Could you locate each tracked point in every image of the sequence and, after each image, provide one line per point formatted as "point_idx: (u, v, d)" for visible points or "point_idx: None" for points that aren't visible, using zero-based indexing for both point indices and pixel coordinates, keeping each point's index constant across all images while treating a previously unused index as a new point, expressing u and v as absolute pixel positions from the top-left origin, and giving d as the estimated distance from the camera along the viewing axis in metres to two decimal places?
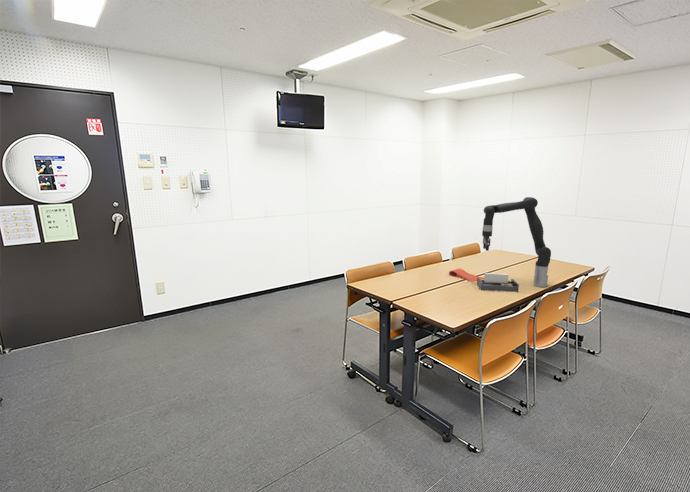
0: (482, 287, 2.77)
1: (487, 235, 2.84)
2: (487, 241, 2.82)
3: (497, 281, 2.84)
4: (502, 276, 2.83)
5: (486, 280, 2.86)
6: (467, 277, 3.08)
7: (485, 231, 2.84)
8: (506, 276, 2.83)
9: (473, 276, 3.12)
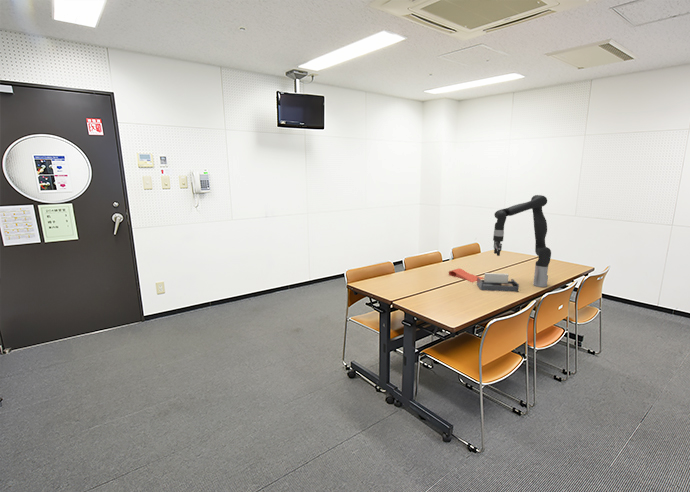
0: (482, 287, 2.77)
1: (498, 240, 2.80)
2: (498, 246, 2.78)
3: (497, 281, 2.84)
4: (502, 276, 2.83)
5: (486, 280, 2.86)
6: (467, 277, 3.08)
7: (496, 236, 2.80)
8: (506, 276, 2.83)
9: (473, 276, 3.12)
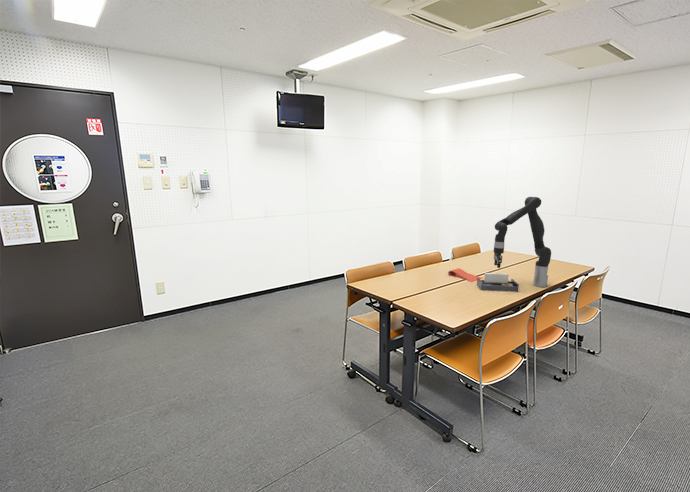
0: (482, 287, 2.77)
1: (499, 252, 2.78)
2: (499, 258, 2.75)
3: (497, 281, 2.84)
4: (502, 276, 2.83)
5: (486, 280, 2.86)
6: (466, 277, 3.08)
7: (497, 248, 2.78)
8: (506, 276, 2.83)
9: (473, 276, 3.13)
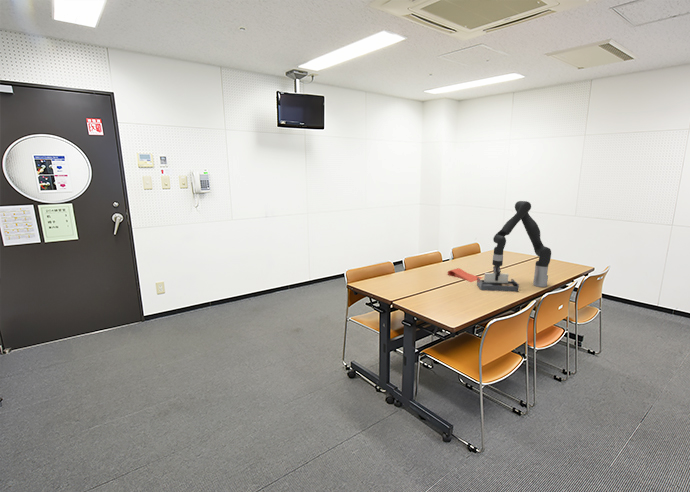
0: (482, 287, 2.77)
1: (498, 265, 2.80)
2: (497, 273, 2.79)
3: (497, 281, 2.84)
4: (502, 276, 2.83)
5: (486, 280, 2.86)
6: (466, 277, 3.08)
7: (495, 260, 2.80)
8: (506, 276, 2.83)
9: (472, 276, 3.13)
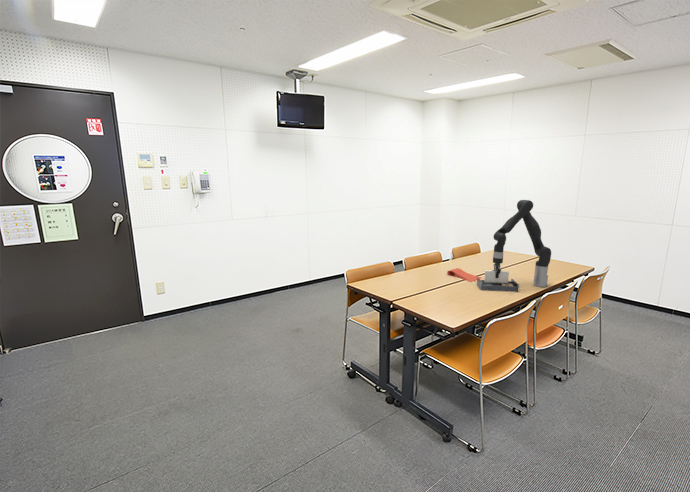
0: (482, 287, 2.77)
1: (498, 262, 2.79)
2: (497, 270, 2.78)
3: (498, 279, 2.84)
4: (502, 274, 2.83)
5: (486, 277, 2.85)
6: (465, 277, 3.09)
7: (496, 258, 2.79)
8: (506, 273, 2.82)
9: (472, 275, 3.13)
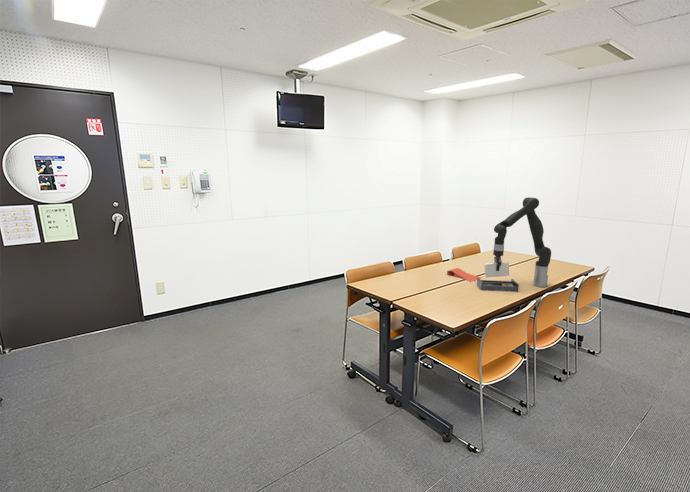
0: (482, 287, 2.77)
1: (498, 255, 2.78)
2: (498, 263, 2.77)
3: (498, 271, 2.83)
4: (502, 265, 2.81)
5: (487, 271, 2.84)
6: (465, 277, 3.09)
7: (496, 250, 2.78)
8: (506, 264, 2.81)
9: (471, 275, 3.14)
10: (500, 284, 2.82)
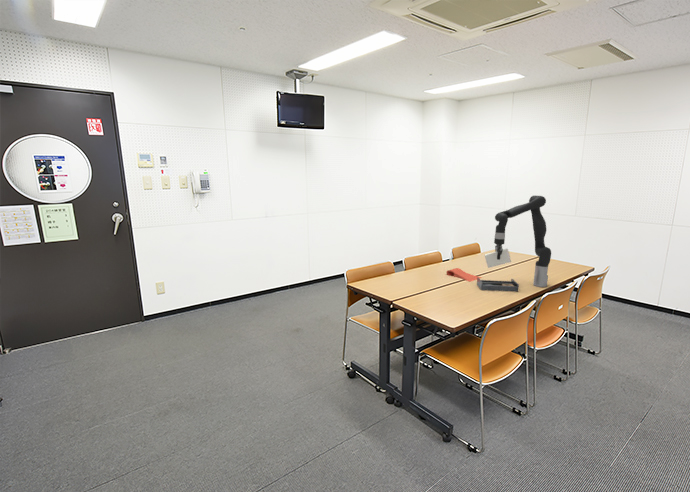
0: (482, 287, 2.77)
1: (499, 243, 2.76)
2: (499, 251, 2.75)
3: None
4: (502, 253, 2.79)
5: (488, 261, 2.82)
6: (464, 276, 3.09)
7: (497, 239, 2.76)
8: (506, 251, 2.79)
9: (471, 275, 3.14)
10: (500, 284, 2.82)
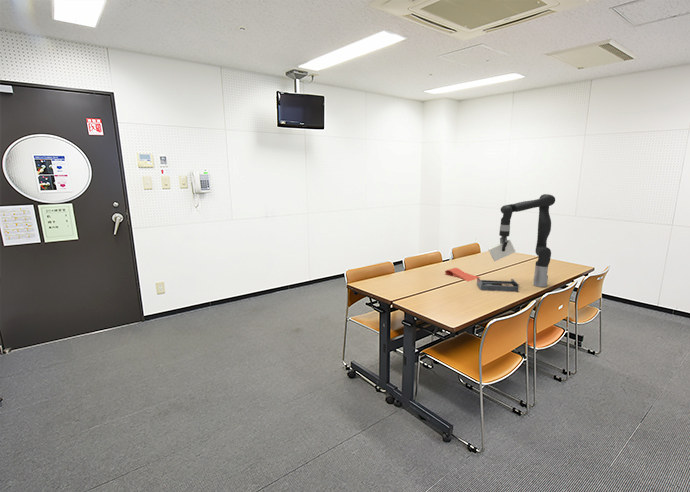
0: (482, 287, 2.77)
1: (504, 235, 2.80)
2: (504, 243, 2.79)
3: (504, 251, 2.85)
4: None
5: (493, 255, 2.87)
6: (463, 276, 3.10)
7: (502, 231, 2.80)
8: (509, 242, 2.83)
9: (469, 275, 3.15)
10: (500, 284, 2.82)
